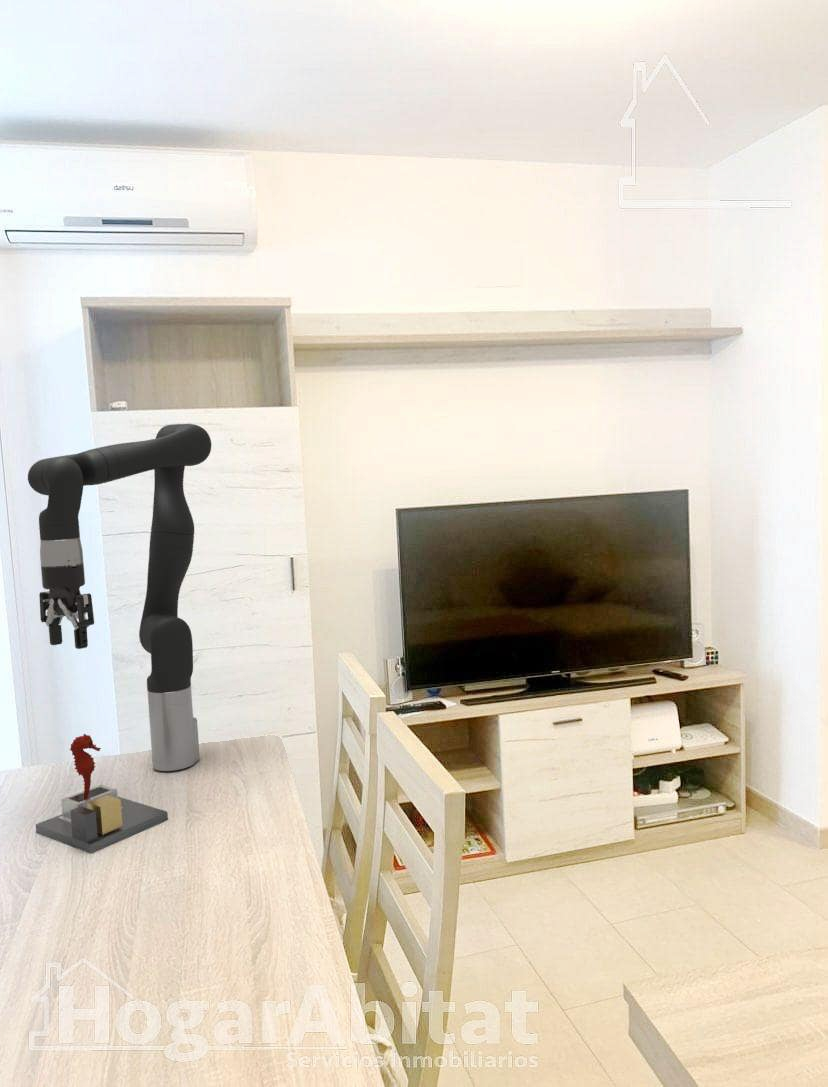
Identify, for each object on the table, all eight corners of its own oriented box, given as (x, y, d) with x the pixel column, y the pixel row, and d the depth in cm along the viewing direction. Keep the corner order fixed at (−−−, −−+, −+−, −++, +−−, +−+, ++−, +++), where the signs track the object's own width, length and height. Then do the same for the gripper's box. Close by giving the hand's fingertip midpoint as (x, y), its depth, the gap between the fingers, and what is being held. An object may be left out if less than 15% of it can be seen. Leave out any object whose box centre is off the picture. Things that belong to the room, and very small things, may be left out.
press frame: (113, 802, 162) (110, 770, 161) (167, 819, 152) (165, 785, 151) (36, 832, 149) (33, 797, 148) (90, 853, 139) (87, 816, 138)
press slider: (109, 821, 147) (107, 795, 147) (122, 826, 145) (120, 799, 145) (89, 830, 144) (87, 802, 144) (102, 834, 142) (100, 807, 142)
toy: (106, 811, 153) (100, 732, 152) (76, 818, 150) (69, 738, 149) (104, 806, 155) (98, 729, 154) (74, 813, 152) (67, 735, 151)
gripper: (23, 564, 157) (30, 647, 158) (65, 565, 149) (72, 653, 150) (59, 560, 163) (65, 640, 164) (101, 561, 155) (108, 645, 156)
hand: (68, 646), depth 157 cm, fingers open, 8 cm apart
